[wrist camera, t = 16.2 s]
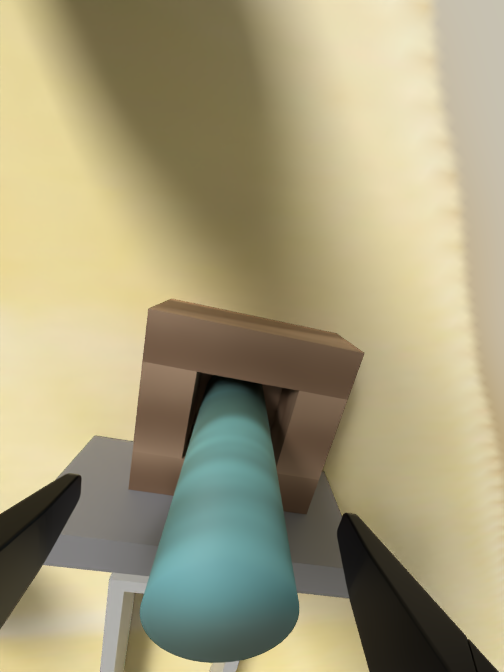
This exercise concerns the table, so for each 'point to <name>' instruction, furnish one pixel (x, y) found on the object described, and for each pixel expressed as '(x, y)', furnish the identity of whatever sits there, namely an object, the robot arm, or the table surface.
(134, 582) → the rectangular open frame
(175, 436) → the pocket block
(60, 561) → the backstop wall
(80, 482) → the robot arm
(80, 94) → the table surface
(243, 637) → the dowel
